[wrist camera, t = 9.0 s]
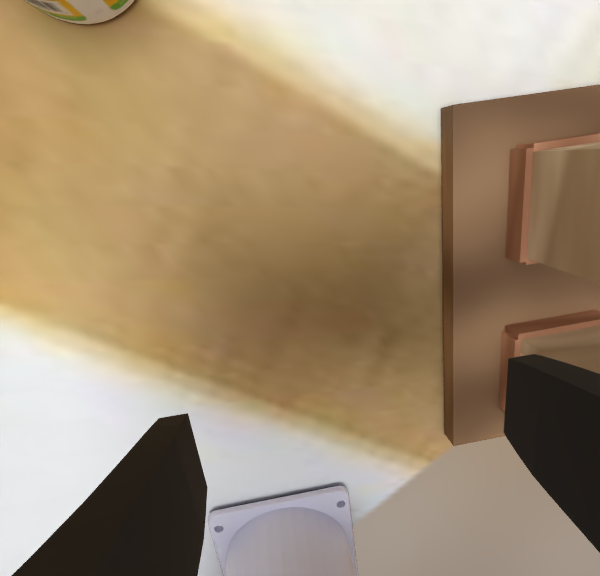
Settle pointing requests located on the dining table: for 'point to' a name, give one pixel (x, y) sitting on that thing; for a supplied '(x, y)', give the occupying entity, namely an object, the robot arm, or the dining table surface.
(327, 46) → the dining table surface
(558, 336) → the seated sleeve
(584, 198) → the banded sleeve
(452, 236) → the pin board
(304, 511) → the robot arm
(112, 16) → the supplement bottle
